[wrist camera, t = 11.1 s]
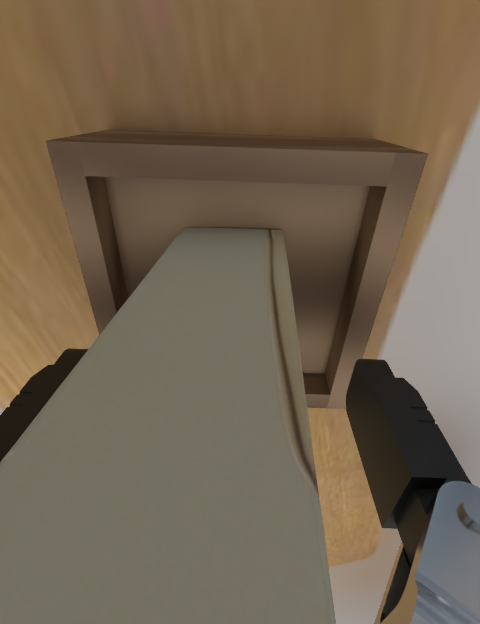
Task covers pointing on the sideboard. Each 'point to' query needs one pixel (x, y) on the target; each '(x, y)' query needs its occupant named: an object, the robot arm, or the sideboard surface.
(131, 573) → the skincare box
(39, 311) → the sideboard surface
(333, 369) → the brown wooden tray
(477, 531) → the robot arm
